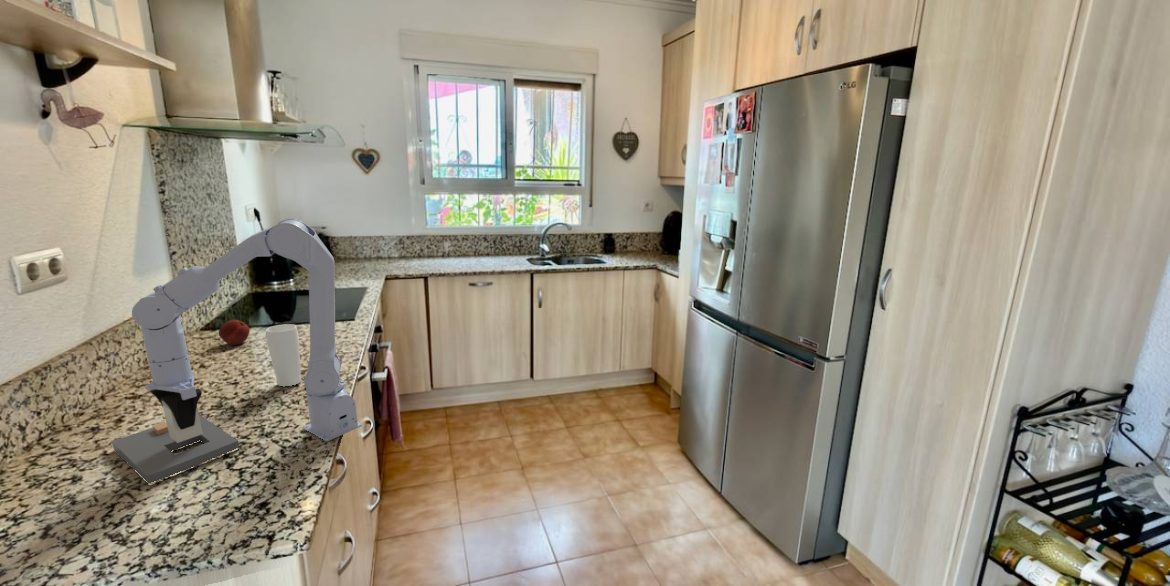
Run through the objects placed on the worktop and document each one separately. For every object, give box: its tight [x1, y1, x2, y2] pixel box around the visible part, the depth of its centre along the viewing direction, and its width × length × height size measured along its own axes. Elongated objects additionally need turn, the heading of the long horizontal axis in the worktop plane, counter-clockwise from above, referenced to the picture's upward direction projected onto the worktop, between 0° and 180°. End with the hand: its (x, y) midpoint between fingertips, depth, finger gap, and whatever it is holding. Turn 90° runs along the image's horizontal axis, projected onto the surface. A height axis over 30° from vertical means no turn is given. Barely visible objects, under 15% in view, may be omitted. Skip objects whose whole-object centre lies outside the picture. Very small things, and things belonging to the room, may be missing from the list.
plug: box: [161, 400, 203, 443], centre depth 95 cm, size 4×4×8 cm
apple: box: [218, 319, 250, 346], centre depth 154 cm, size 7×8×8 cm
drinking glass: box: [265, 323, 302, 388], centre depth 125 cm, size 7×7×15 cm
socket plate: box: [111, 413, 240, 483], centre depth 97 cm, size 20×14×3 cm
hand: (182, 423), depth 95 cm, fingers closed on plug, 4 cm apart
